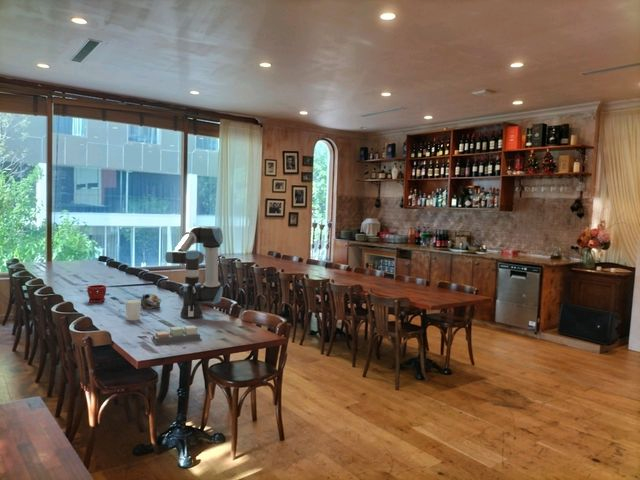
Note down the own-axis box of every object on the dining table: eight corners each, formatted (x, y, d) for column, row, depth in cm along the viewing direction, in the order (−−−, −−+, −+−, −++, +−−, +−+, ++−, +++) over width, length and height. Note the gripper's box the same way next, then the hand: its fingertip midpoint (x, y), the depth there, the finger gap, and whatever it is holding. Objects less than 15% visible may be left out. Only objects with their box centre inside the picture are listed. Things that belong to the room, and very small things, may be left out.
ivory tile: (183, 332, 290) (184, 326, 289) (193, 331, 293) (194, 325, 292) (186, 335, 285) (186, 328, 284) (196, 334, 288) (197, 327, 287)
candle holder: (122, 318, 328) (123, 300, 327) (136, 316, 335) (137, 299, 334) (129, 321, 321) (129, 303, 321) (143, 319, 329) (144, 301, 328)
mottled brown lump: (162, 306, 371) (165, 291, 365) (156, 315, 361) (159, 300, 354) (143, 299, 370) (146, 285, 364) (136, 308, 360) (139, 294, 353)
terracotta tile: (156, 338, 282) (156, 332, 281) (166, 337, 285) (166, 331, 285) (158, 341, 277) (158, 334, 276) (169, 340, 280) (169, 333, 279)
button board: (151, 339, 283) (151, 333, 283) (195, 335, 297) (195, 329, 296) (155, 344, 273) (155, 339, 273) (201, 340, 286) (201, 334, 286)
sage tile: (170, 334, 286) (170, 327, 285) (180, 333, 289) (180, 326, 288) (172, 336, 281) (172, 329, 280) (183, 335, 284) (183, 328, 283)
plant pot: (99, 299, 386) (100, 284, 385) (109, 301, 378) (109, 286, 377) (83, 301, 375) (83, 285, 374) (92, 303, 368) (93, 288, 367)
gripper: (182, 275, 290) (181, 314, 291) (188, 278, 279) (187, 319, 280) (195, 274, 294) (193, 313, 295) (201, 277, 283) (200, 318, 284)
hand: (190, 316), depth 288 cm, fingers closed
